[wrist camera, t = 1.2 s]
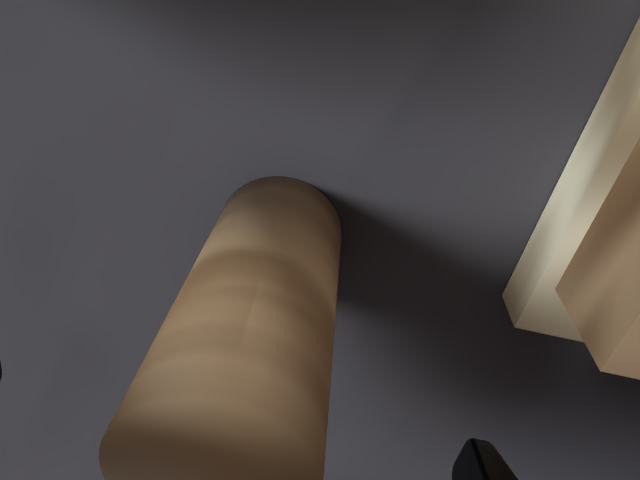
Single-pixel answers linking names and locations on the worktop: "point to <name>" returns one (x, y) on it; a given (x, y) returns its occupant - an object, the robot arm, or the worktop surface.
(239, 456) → the peg
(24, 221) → the worktop surface
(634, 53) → the awning socket
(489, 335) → the worktop surface
